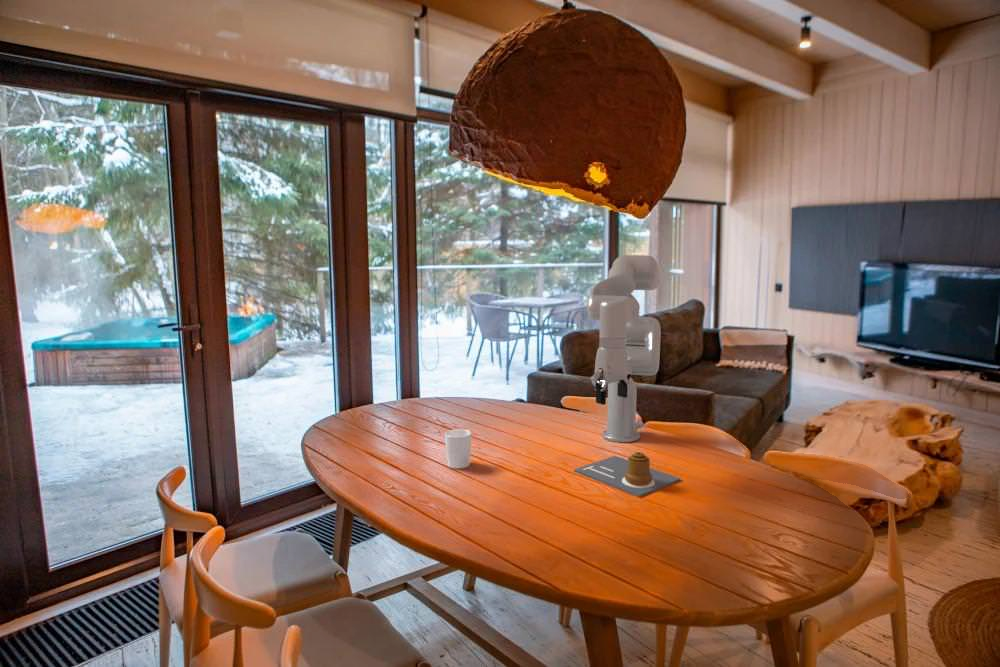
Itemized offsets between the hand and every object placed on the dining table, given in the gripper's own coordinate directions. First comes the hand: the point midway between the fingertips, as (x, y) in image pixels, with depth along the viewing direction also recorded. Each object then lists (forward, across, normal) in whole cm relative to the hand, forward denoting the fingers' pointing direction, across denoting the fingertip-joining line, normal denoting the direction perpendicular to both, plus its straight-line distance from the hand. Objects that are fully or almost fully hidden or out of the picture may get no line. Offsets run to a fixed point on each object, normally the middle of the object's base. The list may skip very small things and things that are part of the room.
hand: (611, 400), depth 182 cm
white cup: (+21, +33, -32) cm, 50 cm away
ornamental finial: (+20, +4, +13) cm, 24 cm away
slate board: (+21, +2, +7) cm, 22 cm away
